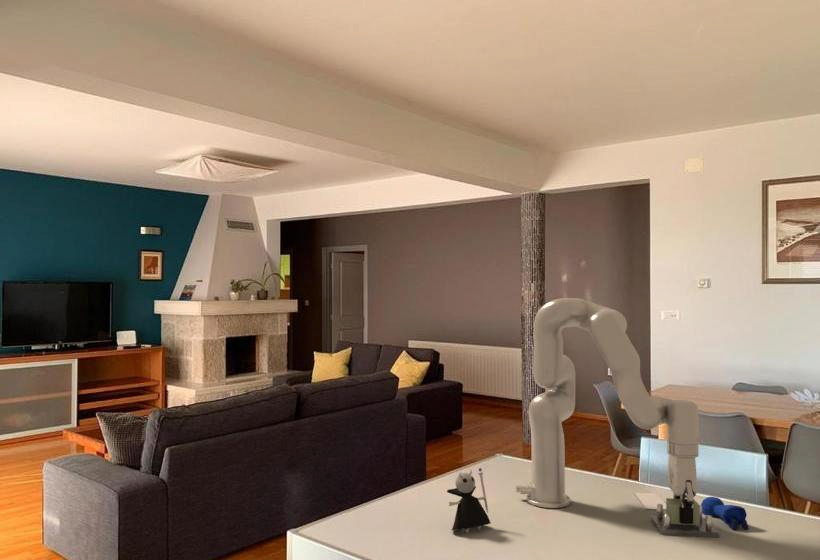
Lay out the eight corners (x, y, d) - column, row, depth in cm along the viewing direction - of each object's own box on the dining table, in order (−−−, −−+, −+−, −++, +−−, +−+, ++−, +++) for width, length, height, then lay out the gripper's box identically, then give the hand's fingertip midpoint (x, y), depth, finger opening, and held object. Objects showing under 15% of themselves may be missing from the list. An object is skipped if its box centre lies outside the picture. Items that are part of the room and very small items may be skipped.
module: (671, 523, 161) (670, 502, 161) (666, 517, 166) (666, 496, 166) (699, 525, 160) (699, 503, 161) (694, 518, 165) (694, 497, 165)
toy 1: (460, 535, 156) (450, 472, 161) (447, 535, 162) (438, 474, 166) (499, 527, 162) (489, 466, 166) (485, 526, 167) (475, 468, 172)
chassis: (660, 534, 159) (660, 515, 159) (650, 520, 169) (650, 502, 169) (719, 537, 157) (718, 518, 157) (705, 522, 167) (705, 504, 167)
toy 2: (752, 532, 162) (717, 510, 177) (753, 508, 162) (717, 488, 177) (728, 533, 162) (694, 511, 176) (728, 509, 161) (695, 489, 176)
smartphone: (645, 509, 177) (633, 492, 192) (645, 511, 177) (633, 494, 192) (671, 510, 176) (657, 493, 191) (671, 511, 176) (657, 494, 191)
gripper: (659, 440, 172) (659, 507, 172) (676, 456, 156) (677, 531, 155) (687, 441, 171) (688, 508, 171) (708, 457, 155) (709, 532, 154)
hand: (683, 518), depth 163 cm, fingers open, 4 cm apart
